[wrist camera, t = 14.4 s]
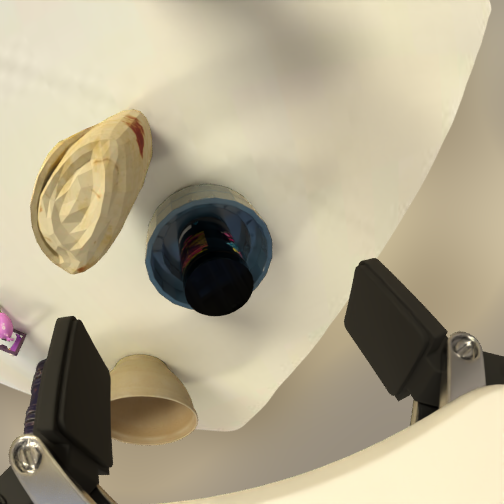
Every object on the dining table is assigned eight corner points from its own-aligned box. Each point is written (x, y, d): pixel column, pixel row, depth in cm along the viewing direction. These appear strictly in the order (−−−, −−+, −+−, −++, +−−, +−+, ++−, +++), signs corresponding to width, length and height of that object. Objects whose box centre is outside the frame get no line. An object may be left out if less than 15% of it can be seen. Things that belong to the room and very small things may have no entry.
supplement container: (214, 270, 40) (231, 323, 31) (167, 251, 37) (172, 304, 28) (241, 228, 38) (267, 273, 30) (193, 205, 35) (206, 247, 26)
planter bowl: (157, 405, 53) (163, 452, 44) (83, 376, 44) (78, 428, 35) (206, 361, 49) (219, 414, 40) (123, 323, 41) (120, 382, 32)
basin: (137, 193, 33) (133, 210, 28) (256, 175, 36) (271, 190, 31) (159, 292, 40) (160, 319, 36) (259, 274, 43) (272, 297, 39)
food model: (129, 195, 33) (103, 307, 16) (79, 172, 30) (4, 266, 13) (169, 118, 30) (175, 151, 13) (116, 93, 27) (53, 95, 10)
